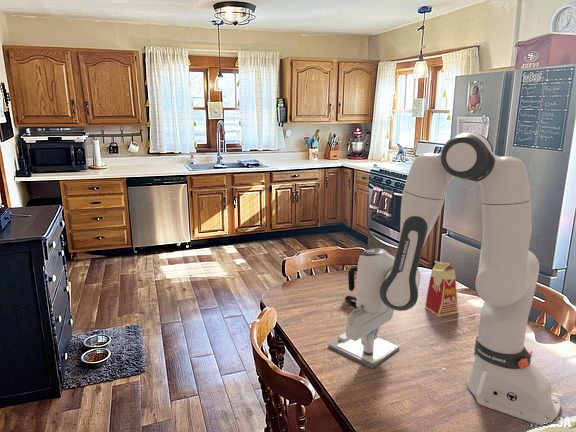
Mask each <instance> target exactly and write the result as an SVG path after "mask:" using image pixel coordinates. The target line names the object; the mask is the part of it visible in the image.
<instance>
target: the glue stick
mask: <svg viewBox="0 0 576 432" xmlns="http://www.w3.org/2000/svg"><path fill="white" fill-rule="evenodd" d="M374 332H375V330H373V331H371V332H370V333H368V334H367V337H366V338H367V339H369V342H368V343H369V344H368V345H366V346H364V345H363V354H365V355H367V356H371V355H373V353H374Z"/></svg>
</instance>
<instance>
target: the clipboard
mask: <svg viewBox="0 0 576 432" xmlns="http://www.w3.org/2000/svg"><path fill="white" fill-rule="evenodd" d="M328 348H330V349H332V350H333V351H335V352H338V353H340V354H342V355H344V356H345V357H348V358H350V359H351V360H354V361H356V362H358V363H360V364H362V365H364V366H366V367H368V368H371V369H374V368H375V367H377V366H378V365H379V364H381V363H382V362H384V361H385V360H386V359H388V358H389V357H390V356H391V355H394V354H395V353H396V352H397V351H399V350H400V346H399V345H397V344H396V343H395V344H394V343H392V342H390V341H387V340H386V339H383V338H380V337H379V336H377V339H376V340H374V353H373V355H371V356H367V355H365V354H363V345H362V344H361V338H360V339H359V340H357V341H354V340H351V339H349V338H348V337H347V336H346V331H345V332H344V333H342V334H340V335H339V336H338V338H337V339H335V340H334V341H332V342H329V344H328Z"/></svg>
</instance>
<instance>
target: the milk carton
mask: <svg viewBox="0 0 576 432" xmlns="http://www.w3.org/2000/svg"><path fill="white" fill-rule="evenodd" d="M434 263H435V264H434V266H433V268H432V270H431V273H430V278H429V282H428V287H427V292H426V299H425V307H424V308H425V309H426V310H427V311H430V312H432V313H433V314H434V315H435V316H437V317H438V318H439V317H443V316H448V315H449V316H450V315H454V314H459V306H458V305H459V304H458V292H457V279H456V269H455V268H453V267H452V266H450V264H451V262H440V261H435V260H434Z"/></svg>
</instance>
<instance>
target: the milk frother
mask: <svg viewBox="0 0 576 432" xmlns="http://www.w3.org/2000/svg"><path fill="white" fill-rule="evenodd" d="M357 270H358V265H354V266H351V267H350V269H349V270H348V274H347V275H348V276H347V277H348V290H349V291H350V292H352V291H354V290H355V286H356V283H355V280H356V279H355V272H357ZM344 300H345V302H346V303H347V305H349V306H350V307H351V308H354V309H356V308H358V307H357V306H356V297H355V296H352V295H346V296H345V297H344Z"/></svg>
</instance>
